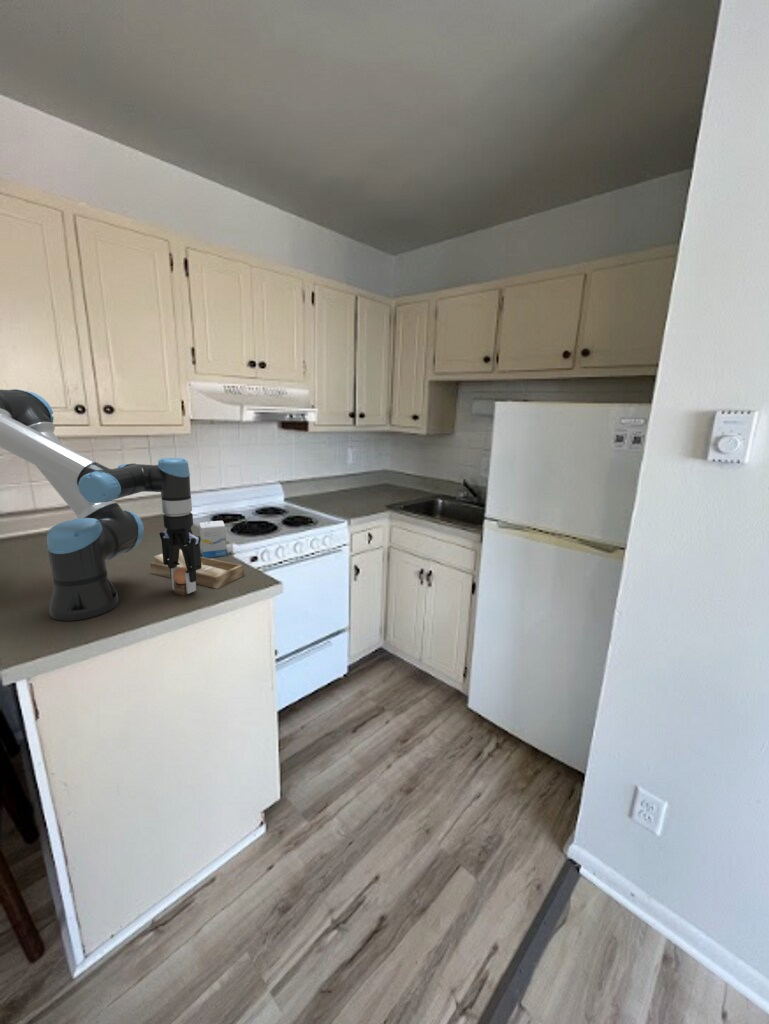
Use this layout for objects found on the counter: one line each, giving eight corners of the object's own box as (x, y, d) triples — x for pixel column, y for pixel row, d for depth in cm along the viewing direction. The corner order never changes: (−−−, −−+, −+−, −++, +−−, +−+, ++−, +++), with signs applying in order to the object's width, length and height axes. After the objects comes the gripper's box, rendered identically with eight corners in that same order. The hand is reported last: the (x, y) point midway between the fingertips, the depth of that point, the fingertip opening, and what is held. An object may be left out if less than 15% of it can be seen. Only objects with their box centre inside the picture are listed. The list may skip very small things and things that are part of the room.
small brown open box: (184, 595, 123) (183, 586, 123) (174, 593, 125) (173, 584, 124) (194, 590, 127) (193, 581, 126) (185, 588, 128) (184, 579, 128)
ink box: (227, 555, 158) (225, 525, 155) (202, 558, 154) (200, 527, 151) (224, 549, 165) (222, 519, 162) (200, 551, 161) (198, 521, 159)
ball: (183, 588, 122) (181, 571, 121) (170, 585, 124) (169, 569, 123) (197, 582, 126) (195, 566, 125) (184, 579, 128) (183, 563, 127)
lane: (216, 589, 129) (215, 571, 127) (151, 573, 139) (149, 557, 138) (244, 576, 140) (243, 559, 138) (181, 562, 150) (180, 546, 149)
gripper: (212, 514, 120) (217, 590, 126) (166, 507, 127) (172, 580, 132) (191, 520, 114) (197, 600, 119) (143, 512, 120) (151, 588, 126)
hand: (184, 589), depth 126 cm, fingers closed on ball, 5 cm apart
